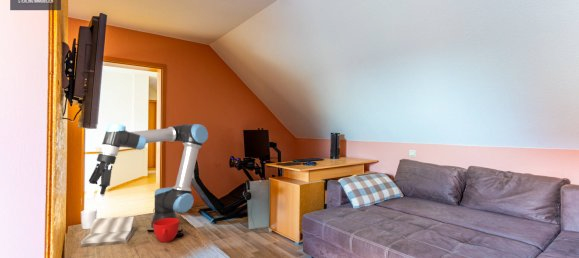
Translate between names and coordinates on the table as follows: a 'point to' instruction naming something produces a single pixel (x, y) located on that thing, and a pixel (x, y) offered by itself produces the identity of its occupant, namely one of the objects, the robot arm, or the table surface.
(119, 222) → the raised plank
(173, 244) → the table surface
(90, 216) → the white cup
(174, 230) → the ceramic cup
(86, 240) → the base board
